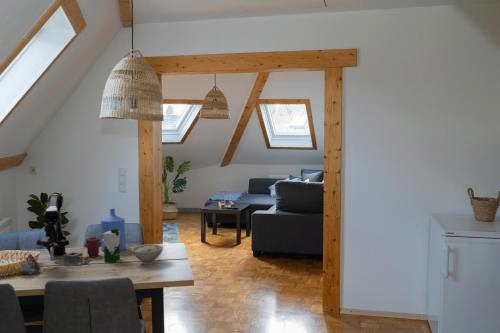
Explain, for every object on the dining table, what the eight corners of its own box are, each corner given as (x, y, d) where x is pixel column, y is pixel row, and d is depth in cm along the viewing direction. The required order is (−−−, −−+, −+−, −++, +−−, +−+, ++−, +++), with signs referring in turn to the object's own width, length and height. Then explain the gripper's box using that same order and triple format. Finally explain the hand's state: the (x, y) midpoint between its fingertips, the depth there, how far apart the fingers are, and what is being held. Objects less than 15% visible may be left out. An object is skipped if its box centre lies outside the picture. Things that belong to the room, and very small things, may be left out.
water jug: (129, 247, 337) (128, 207, 335) (118, 253, 322) (117, 211, 320) (109, 246, 341) (107, 206, 339) (97, 251, 326) (95, 210, 324)
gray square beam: (50, 260, 290) (50, 247, 289) (53, 259, 292) (52, 246, 292) (53, 260, 289) (53, 247, 289) (56, 259, 292) (55, 246, 291)
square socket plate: (54, 263, 298) (54, 255, 298) (66, 258, 310) (66, 250, 309) (81, 265, 293) (81, 257, 293) (93, 260, 305) (92, 252, 304)
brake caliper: (47, 266, 283) (36, 253, 275) (36, 282, 275) (24, 269, 268) (32, 264, 287) (22, 251, 280) (21, 280, 280) (9, 267, 272)
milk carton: (115, 262, 299) (114, 230, 297) (102, 262, 301) (101, 230, 299) (122, 259, 307) (121, 227, 306) (109, 258, 309) (108, 227, 308)
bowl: (148, 256, 312) (148, 241, 311) (170, 261, 301) (170, 245, 300) (125, 263, 296) (124, 247, 296) (147, 268, 285) (146, 252, 284)
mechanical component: (89, 253, 321) (103, 254, 320) (82, 257, 311) (97, 258, 310) (88, 235, 320) (103, 235, 319) (81, 238, 310) (96, 239, 309)
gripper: (29, 232, 284) (30, 259, 285) (57, 234, 279) (58, 261, 280) (42, 229, 295) (43, 254, 296) (69, 230, 290) (70, 256, 291)
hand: (53, 256), depth 291 cm, fingers closed on gray square beam, 2 cm apart
